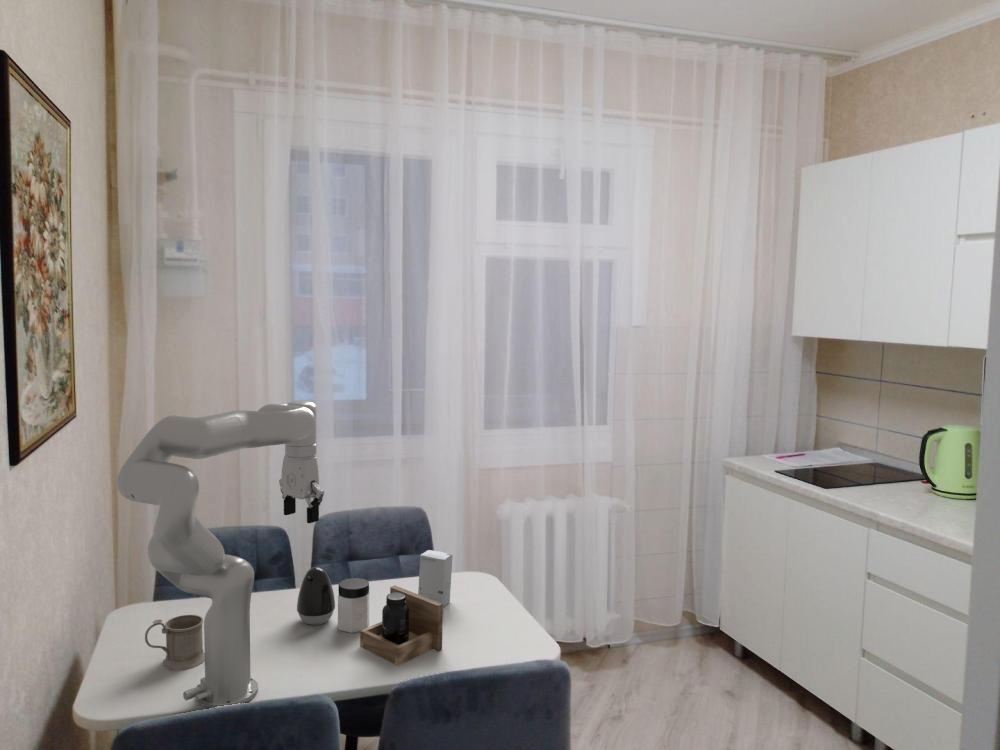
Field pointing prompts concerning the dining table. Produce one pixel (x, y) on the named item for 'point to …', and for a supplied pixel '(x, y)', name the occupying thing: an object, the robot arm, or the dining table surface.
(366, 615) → the jar
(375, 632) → the brown open boxy piece
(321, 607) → the black aroma diffuser
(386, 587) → the dining table surface
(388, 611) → the supplement bottle
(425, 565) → the skincare box
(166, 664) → the mug
